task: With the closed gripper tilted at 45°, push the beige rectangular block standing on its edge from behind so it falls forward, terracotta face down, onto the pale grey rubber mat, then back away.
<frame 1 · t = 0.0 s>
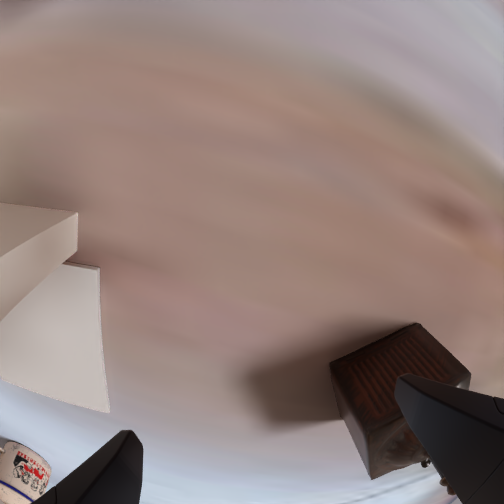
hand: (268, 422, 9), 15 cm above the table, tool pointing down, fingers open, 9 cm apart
beige rectangular block: (27, 224, 19), on the table
teacup with lid: (22, 451, 28), on the table
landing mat: (37, 334, 22), on the table
pepper mill: (398, 366, 29), on the table
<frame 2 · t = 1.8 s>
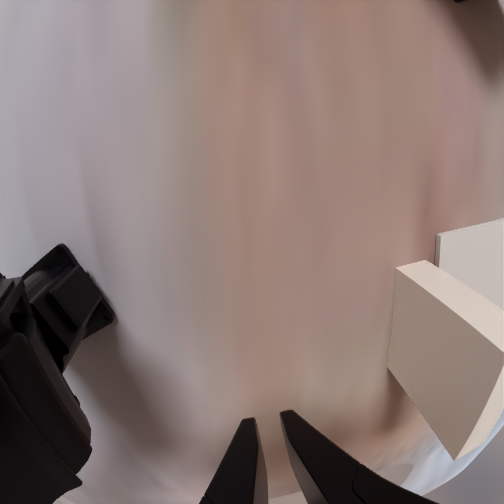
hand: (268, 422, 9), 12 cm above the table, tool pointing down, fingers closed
beige rectangular block: (406, 317, 23), on the table
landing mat: (485, 288, 24), on the table
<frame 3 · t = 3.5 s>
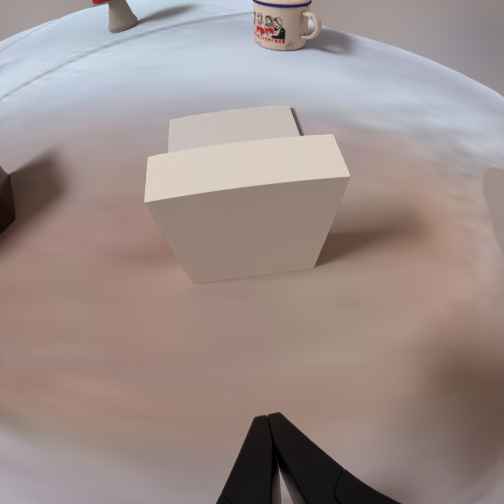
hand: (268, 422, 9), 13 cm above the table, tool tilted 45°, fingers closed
beige rectangular block: (251, 259, 26), on the table
teacup with lid: (287, 44, 41), on the table
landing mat: (236, 163, 30), on the table
decorative mushroom: (124, 28, 50), on the table
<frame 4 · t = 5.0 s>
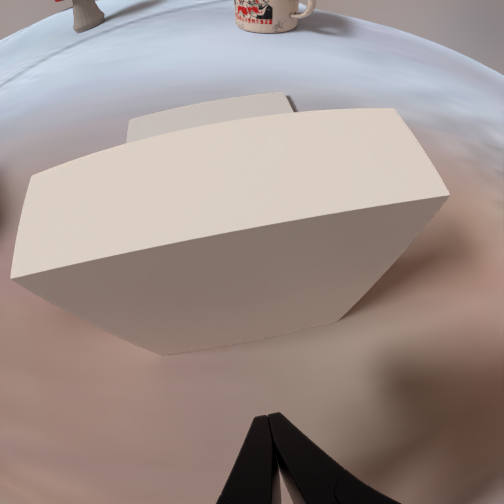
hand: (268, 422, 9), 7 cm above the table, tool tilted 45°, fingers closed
beige rectangular block: (244, 315, 17), on the table
teacup with lid: (274, 27, 34), on the table
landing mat: (217, 171, 21), on the table
decorative mushroom: (90, 26, 41), on the table
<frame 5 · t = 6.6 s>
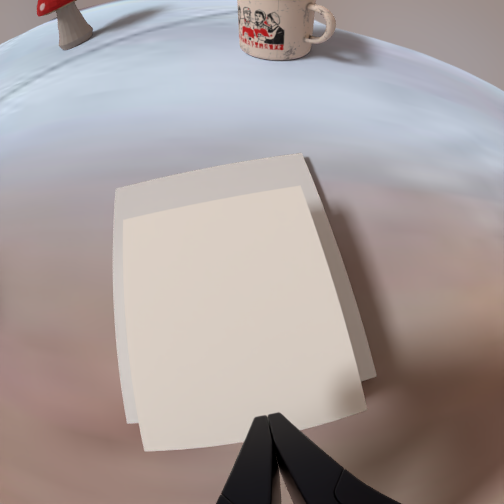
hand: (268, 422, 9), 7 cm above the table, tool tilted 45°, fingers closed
beige rectangular block: (256, 434, 12), point 2 cm above the table, tilted 90°, touching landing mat
teacup with lid: (285, 51, 31), on the table
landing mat: (225, 274, 18), on the table
decorative mushroom: (77, 42, 38), on the table
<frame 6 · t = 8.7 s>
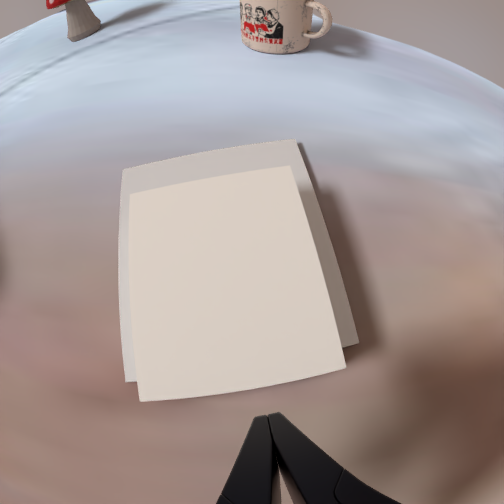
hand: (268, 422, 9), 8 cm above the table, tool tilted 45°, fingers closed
beige rectangular block: (243, 389, 14), point 2 cm above the table, tilted 90°, touching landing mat
teacup with lid: (284, 45, 32), on the table
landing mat: (220, 245, 20), on the table
decorative mushroom: (86, 34, 39), on the table
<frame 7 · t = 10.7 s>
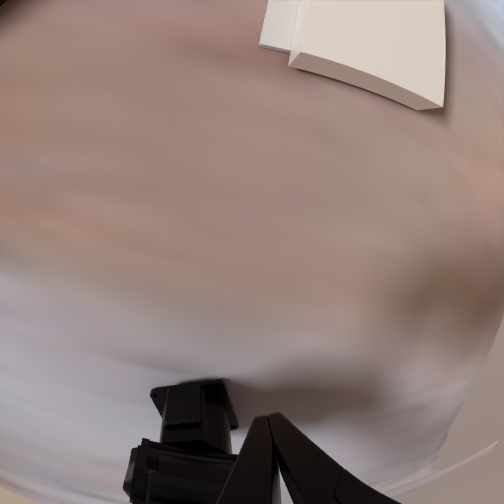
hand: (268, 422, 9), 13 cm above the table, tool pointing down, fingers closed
beige rectangular block: (369, 83, 16), point 2 cm above the table, tilted 90°, touching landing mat
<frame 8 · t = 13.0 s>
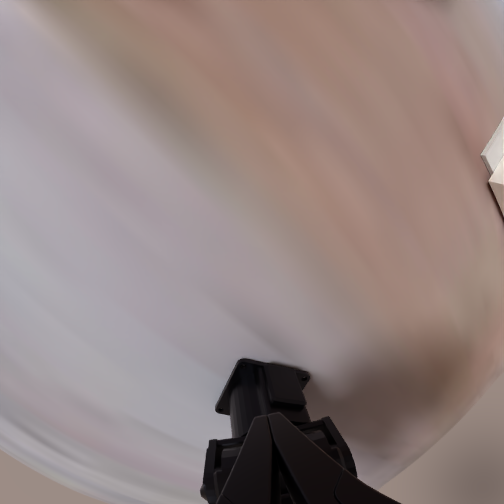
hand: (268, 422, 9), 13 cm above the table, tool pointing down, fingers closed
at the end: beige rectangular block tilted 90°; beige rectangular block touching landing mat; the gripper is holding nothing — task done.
